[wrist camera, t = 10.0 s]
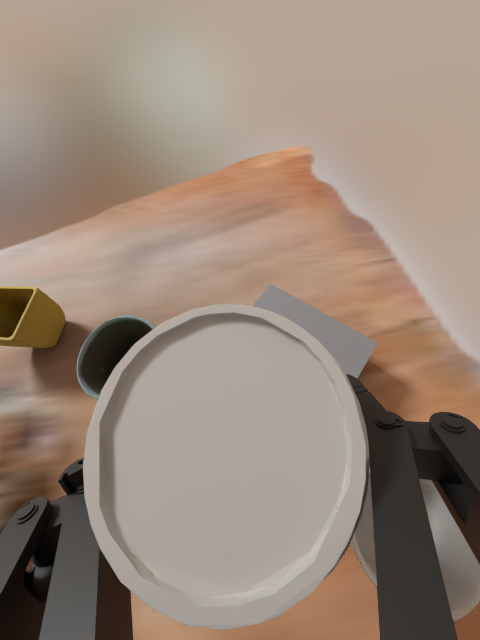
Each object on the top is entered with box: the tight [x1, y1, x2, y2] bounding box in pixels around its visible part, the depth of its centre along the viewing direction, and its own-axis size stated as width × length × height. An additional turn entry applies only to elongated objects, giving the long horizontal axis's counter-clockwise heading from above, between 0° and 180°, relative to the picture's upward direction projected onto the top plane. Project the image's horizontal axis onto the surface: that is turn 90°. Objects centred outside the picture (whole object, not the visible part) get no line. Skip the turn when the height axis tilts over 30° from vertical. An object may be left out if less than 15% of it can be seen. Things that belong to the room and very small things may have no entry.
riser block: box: [253, 284, 378, 378], centre depth 33 cm, size 16×16×6 cm
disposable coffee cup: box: [83, 304, 370, 630], centre depth 13 cm, size 10×10×12 cm
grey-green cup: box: [77, 315, 156, 400], centre depth 32 cm, size 10×10×12 cm
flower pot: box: [0, 286, 66, 348], centre depth 40 cm, size 9×9×9 cm
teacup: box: [350, 469, 480, 620], centre depth 24 cm, size 14×11×8 cm
